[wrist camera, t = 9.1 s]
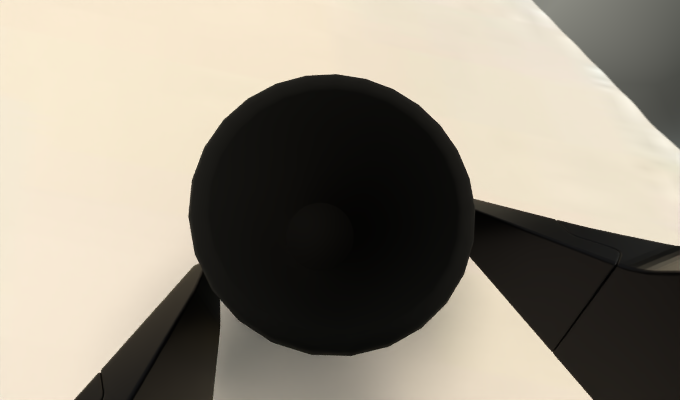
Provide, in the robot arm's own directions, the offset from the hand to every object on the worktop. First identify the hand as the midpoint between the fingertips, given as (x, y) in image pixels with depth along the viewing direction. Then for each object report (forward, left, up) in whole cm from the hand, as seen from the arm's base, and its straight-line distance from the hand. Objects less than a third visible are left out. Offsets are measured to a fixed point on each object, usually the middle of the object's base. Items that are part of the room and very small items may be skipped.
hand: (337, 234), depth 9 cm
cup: (0, +1, -9) cm, 9 cm away
